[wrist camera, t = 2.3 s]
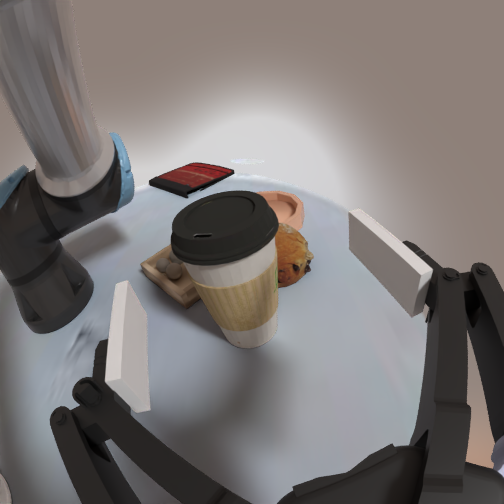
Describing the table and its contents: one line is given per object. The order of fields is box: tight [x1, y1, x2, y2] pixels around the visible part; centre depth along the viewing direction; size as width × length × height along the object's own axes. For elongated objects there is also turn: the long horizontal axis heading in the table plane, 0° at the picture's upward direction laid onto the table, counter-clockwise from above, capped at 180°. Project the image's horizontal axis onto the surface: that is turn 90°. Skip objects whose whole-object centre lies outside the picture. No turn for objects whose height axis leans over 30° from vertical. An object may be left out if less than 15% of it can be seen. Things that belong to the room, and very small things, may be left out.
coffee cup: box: [171, 191, 279, 348], centre depth 30 cm, size 10×10×15 cm
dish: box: [257, 191, 305, 231], centre depth 53 cm, size 14×14×2 cm
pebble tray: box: [140, 244, 201, 309], centre depth 44 cm, size 12×8×3 cm, turn 45°
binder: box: [149, 163, 234, 198], centre depth 79 cm, size 16×2×21 cm
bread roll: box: [275, 223, 314, 288], centre depth 42 cm, size 10×10×8 cm
